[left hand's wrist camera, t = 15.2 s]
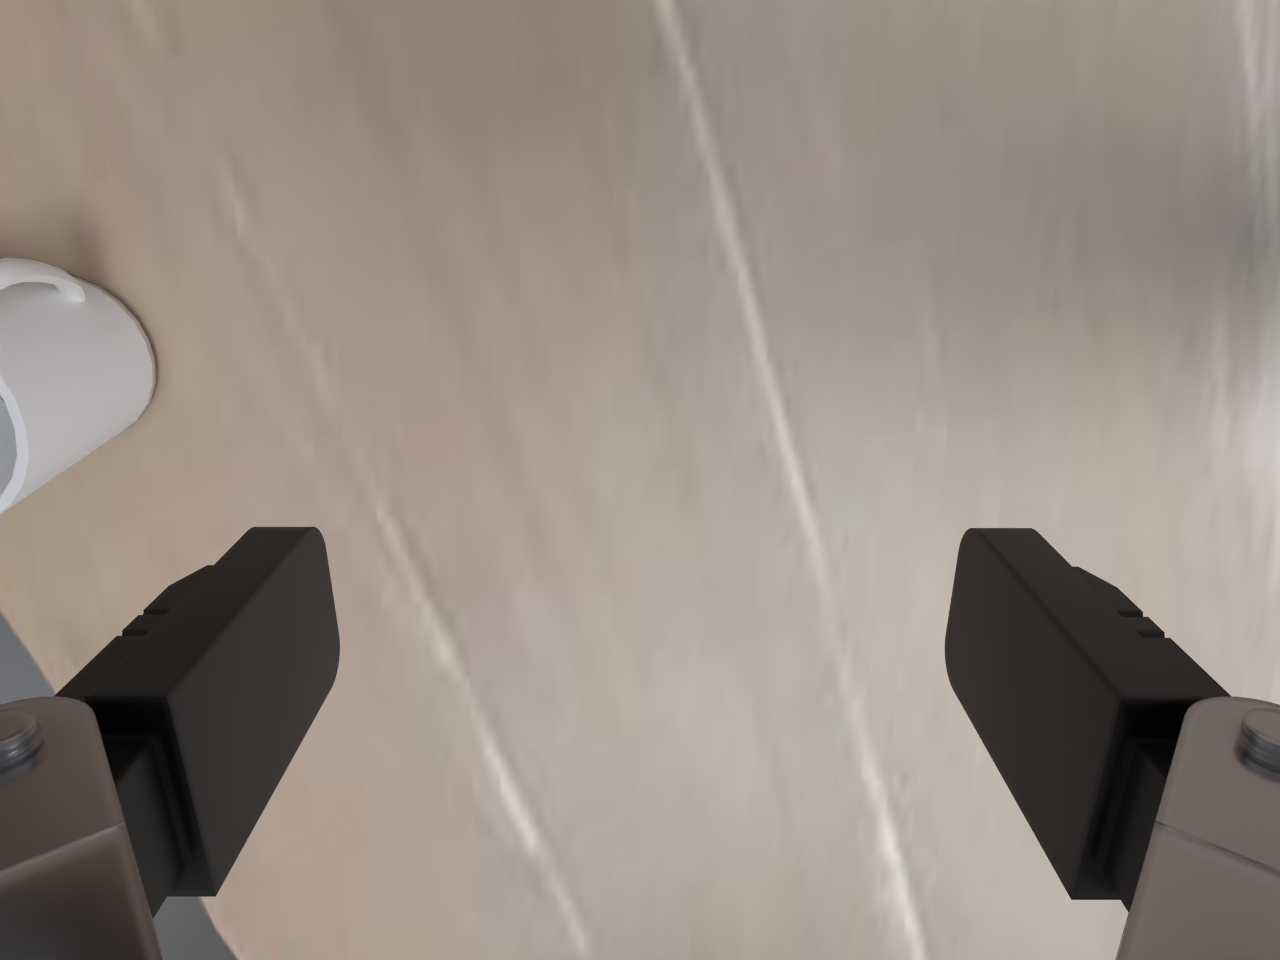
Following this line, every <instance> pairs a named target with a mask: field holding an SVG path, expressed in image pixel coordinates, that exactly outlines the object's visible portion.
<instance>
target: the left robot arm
mask: <svg viewBox="0 0 1280 960" xmlns="http://www.w3.org/2000/svg"><path fill="white" fill-rule="evenodd" d="M339 654H340V641H339V632H338V625H337V618H336V612H335V605H334V598H333V592H332V585H331V578H330V572H329V565H328V558H327V552H326V546H325V542H324V539H323V536H322V534H321V532H320V531H319V530H318V529H317V528H315V527H253V528H251V529H249V530H248V531H247V532H246V533H245V534H244V535H243V536H242V537H241V538H240V539H239V540H238V541H237V542H236V543H235V544H234V545H233V546H232V547H231V548H230V549H229V550H228V551H227V552H226V553H225V554H224V555H223V556H222V557H221V558H220V559H219V560H218V562H217V563H216V564H215V565H207V566H205V567H203V568H201V569H200V570H198V571H196V572H194V573H192V574H190V575H188V576H187V577H185V578H183V579H181V580H179V581H177V582H175V583H173V584H172V585H170V586H168V587H167V588H166V589H165V590H164V591H163V592H162V593H161V594H160V595H159V596H158V597H157V598H156V599H155V600H154V601H153V602H152V603H151V604H150V605H149V606H147V607H146V608H145V609H144V614H143V615H138V616H137V617H136V618H135V619H134V620H133V621H132V622H131V623H130V624H129V625H128V626H127V627H126V628H125V629H124V630H123V631H122V636H116V637H115V638H114V639H113V640H112V641H111V642H110V643H109V644H108V645H107V646H106V647H105V648H104V649H103V650H102V651H101V652H100V653H99V654H98V655H96V656H95V657H94V658H93V659H92V660H91V661H90V662H89V663H88V664H87V665H86V666H85V667H84V668H83V669H82V670H81V671H80V672H79V673H78V674H77V675H76V676H75V677H74V678H73V679H72V680H70V681H69V682H68V683H67V684H66V685H65V686H64V687H63V688H62V689H61V690H60V691H59V692H58V693H57V694H56V695H55V696H54V697H37V698H28V699H23V700H19V701H13V702H9V703H6V704H2V705H0V960H164V956H163V953H162V949H161V946H160V942H159V939H158V935H157V932H156V928H155V924H154V921H153V918H154V916H155V915H156V913H157V912H158V910H159V908H160V907H161V905H162V903H163V902H164V900H165V899H166V897H167V896H216V895H217V893H218V891H219V889H220V888H221V886H222V884H223V882H224V880H225V879H226V877H227V875H228V873H229V871H230V870H231V868H232V866H233V864H234V862H235V861H236V859H237V857H238V855H239V853H240V852H241V850H242V848H243V846H244V844H245V843H246V841H247V839H248V837H249V835H250V834H251V832H252V830H253V828H254V826H255V825H256V823H257V821H258V819H259V817H260V816H261V814H262V812H263V810H264V808H265V807H266V805H267V803H268V801H269V799H270V798H271V796H272V794H273V792H274V790H275V789H276V787H277V785H278V783H279V781H280V780H281V778H282V776H283V774H284V772H285V771H286V769H287V767H288V765H289V763H290V762H291V760H292V758H293V756H294V754H295V753H296V751H297V749H298V747H299V745H300V744H301V742H302V740H303V738H304V737H305V735H306V733H307V731H308V729H309V728H310V726H311V724H312V722H313V720H314V719H315V717H316V715H317V713H318V711H319V710H320V708H321V706H322V704H323V702H324V701H325V699H326V697H327V695H328V693H329V692H330V690H331V688H332V686H333V684H334V681H335V678H336V674H337V669H338V664H339ZM945 661H946V668H947V673H948V677H949V680H950V683H951V686H952V688H953V690H954V692H955V694H956V695H957V697H958V699H959V701H960V703H961V704H962V706H963V708H964V710H965V711H966V713H967V715H968V717H969V719H970V720H971V722H972V724H973V726H974V727H975V729H976V731H977V733H978V735H979V736H980V738H981V740H982V742H983V743H984V745H985V747H986V749H987V751H988V752H989V754H990V756H991V758H992V759H993V761H994V763H995V765H996V766H997V768H998V770H999V772H1000V774H1001V775H1002V777H1003V779H1004V781H1005V782H1006V784H1007V786H1008V788H1009V790H1010V791H1011V793H1012V795H1013V797H1014V798H1015V800H1016V802H1017V804H1018V806H1019V807H1020V809H1021V811H1022V813H1023V814H1024V816H1025V818H1026V820H1027V822H1028V823H1029V825H1030V827H1031V829H1032V830H1033V832H1034V834H1035V836H1036V838H1037V839H1038V841H1039V843H1040V845H1041V846H1042V848H1043V850H1044V852H1045V854H1046V855H1047V857H1048V859H1049V861H1050V862H1051V864H1052V866H1053V868H1054V870H1055V871H1056V873H1057V875H1058V877H1059V878H1060V880H1061V882H1062V884H1063V886H1064V887H1065V889H1066V891H1067V893H1068V894H1069V896H1070V898H1071V900H1121V901H1122V903H1123V904H1124V906H1125V907H1126V909H1127V911H1128V912H1129V914H1128V917H1127V921H1126V924H1125V928H1124V931H1123V935H1122V938H1121V942H1120V946H1119V949H1118V953H1117V956H1116V960H1280V705H1278V704H1274V703H1271V702H1267V701H1262V700H1257V699H1252V698H1243V697H1231V696H1230V695H1229V694H1228V693H1227V692H1226V691H1225V690H1224V689H1223V688H1222V687H1221V686H1220V685H1219V684H1218V683H1217V682H1216V681H1215V680H1214V679H1213V678H1212V677H1210V676H1209V675H1208V674H1207V673H1206V672H1205V671H1204V670H1203V669H1202V668H1201V667H1200V666H1199V665H1198V664H1197V663H1196V662H1195V661H1194V660H1193V659H1192V658H1191V657H1189V656H1188V655H1187V654H1186V653H1185V652H1184V651H1183V650H1182V649H1181V648H1180V647H1179V646H1178V645H1177V644H1176V643H1175V642H1174V641H1173V640H1172V639H1171V638H1165V637H1164V632H1163V631H1162V630H1161V629H1160V628H1159V627H1158V626H1157V625H1156V624H1155V623H1154V622H1153V621H1152V620H1151V619H1150V618H1149V617H1143V612H1142V611H1141V610H1140V609H1139V608H1138V607H1137V606H1136V605H1135V604H1134V603H1133V602H1132V601H1131V600H1130V599H1129V598H1128V597H1126V596H1125V595H1124V594H1123V593H1122V592H1121V591H1120V590H1119V589H1118V588H1117V587H1115V586H1113V585H1111V584H1110V583H1108V582H1106V581H1104V580H1102V579H1100V578H1098V577H1096V576H1095V575H1093V574H1091V573H1089V572H1087V571H1085V570H1083V569H1081V568H1080V567H1072V566H1071V565H1070V564H1069V563H1068V562H1067V561H1066V560H1065V559H1064V558H1063V557H1062V556H1061V555H1060V554H1059V553H1058V552H1057V551H1056V550H1055V549H1054V548H1053V547H1052V546H1051V545H1050V544H1049V543H1048V542H1047V541H1046V540H1045V539H1044V538H1043V537H1042V536H1041V535H1040V534H1039V533H1038V532H1037V531H1036V530H1034V529H1032V528H970V529H968V530H967V531H966V532H965V534H964V535H963V537H962V540H961V543H960V547H959V552H958V559H957V565H956V572H955V578H954V585H953V591H952V598H951V604H950V611H949V617H948V624H947V631H946V638H945Z"/></svg>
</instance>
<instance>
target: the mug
mask: <svg viewBox="0 0 1280 960" xmlns="http://www.w3.org/2000/svg"><path fill="white" fill-rule="evenodd" d="M155 384H156V375H155V359H154V356H153V352H152V349H151V346H150V342H149V339H148V338H147V336H146V334H145V332H144V331H143V329H142V327H141V326H140V324H139V322H138V320H137V319H136V318H135V317H134V316H133V315H132V314H131V313H130V311H129V310H128V309H127V308H126V307H125V306H124V305H123V304H122V303H121V302H120V301H119V300H117V299H116V298H114V297H113V296H112V295H110V294H109V293H107V292H106V291H105V290H103V289H102V288H100V287H99V286H97V285H94V284H92V283H90V282H87V281H85V280H83V279H80V278H78V277H74V276H71V275H69V274H68V273H66V272H65V271H64V270H62V269H60V268H57V267H55V266H52V265H48V264H45V263H42V262H39V261H35V260H30V259H18V258H2V259H0V514H2V513H3V512H5V511H6V510H8V509H9V508H10V507H12V506H13V505H15V504H16V503H18V502H19V501H21V500H22V499H24V498H25V497H27V496H28V495H30V494H31V493H32V492H34V491H35V490H37V489H38V488H40V487H41V486H43V485H44V484H46V483H47V482H49V481H50V480H52V479H53V478H54V477H56V476H57V475H59V474H60V473H62V472H63V471H65V470H66V469H68V468H69V467H71V466H72V465H73V464H75V463H76V462H78V461H79V460H81V459H82V458H84V457H85V456H87V455H88V454H90V453H91V452H93V451H94V450H95V449H97V448H98V447H100V446H101V445H103V444H104V443H106V442H107V441H109V440H110V439H112V438H113V437H114V436H116V435H117V434H119V433H120V432H122V431H123V430H125V429H126V428H128V427H129V426H130V425H132V424H133V423H134V422H135V421H137V420H138V419H139V418H140V417H141V416H142V414H143V413H144V411H145V410H146V408H147V407H148V405H149V404H150V402H151V399H152V395H153V391H154V388H155Z"/></svg>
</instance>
